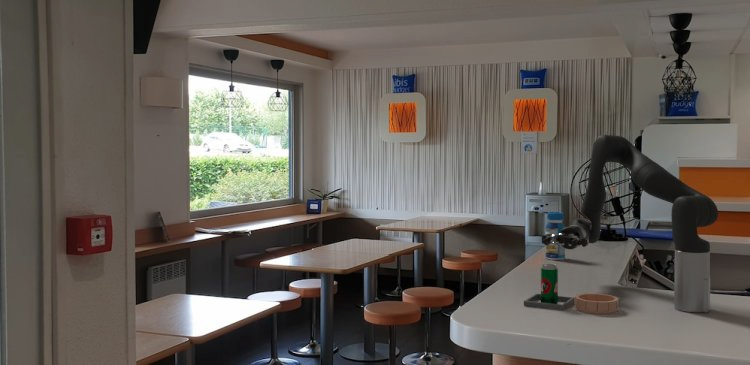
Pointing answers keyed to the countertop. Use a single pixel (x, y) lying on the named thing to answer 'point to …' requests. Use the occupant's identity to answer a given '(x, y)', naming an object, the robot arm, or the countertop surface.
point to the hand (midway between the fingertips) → (558, 243)
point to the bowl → (596, 303)
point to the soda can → (549, 283)
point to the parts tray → (567, 303)
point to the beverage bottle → (554, 228)
